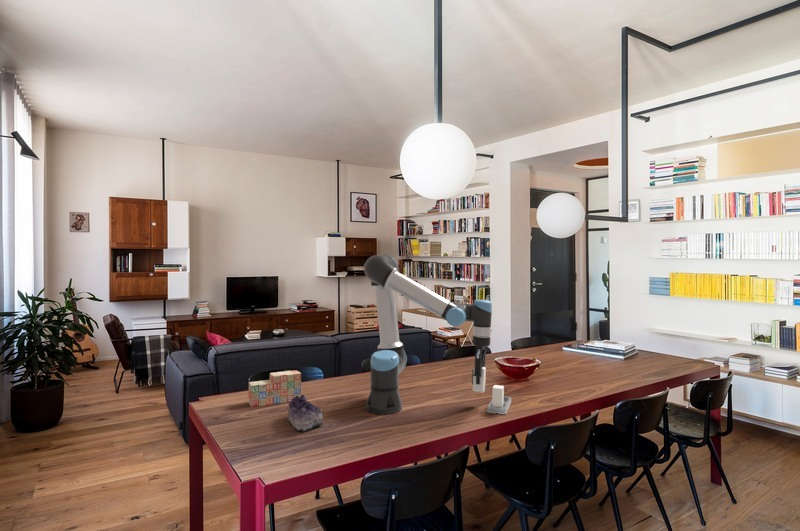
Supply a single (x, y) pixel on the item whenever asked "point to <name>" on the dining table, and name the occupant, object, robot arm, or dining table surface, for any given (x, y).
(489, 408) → the rail
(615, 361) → the dining table surface
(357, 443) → the dining table surface
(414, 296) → the robot arm
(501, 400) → the block
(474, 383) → the block
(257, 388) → the stack of blocks
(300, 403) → the geode
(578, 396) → the dining table surface
